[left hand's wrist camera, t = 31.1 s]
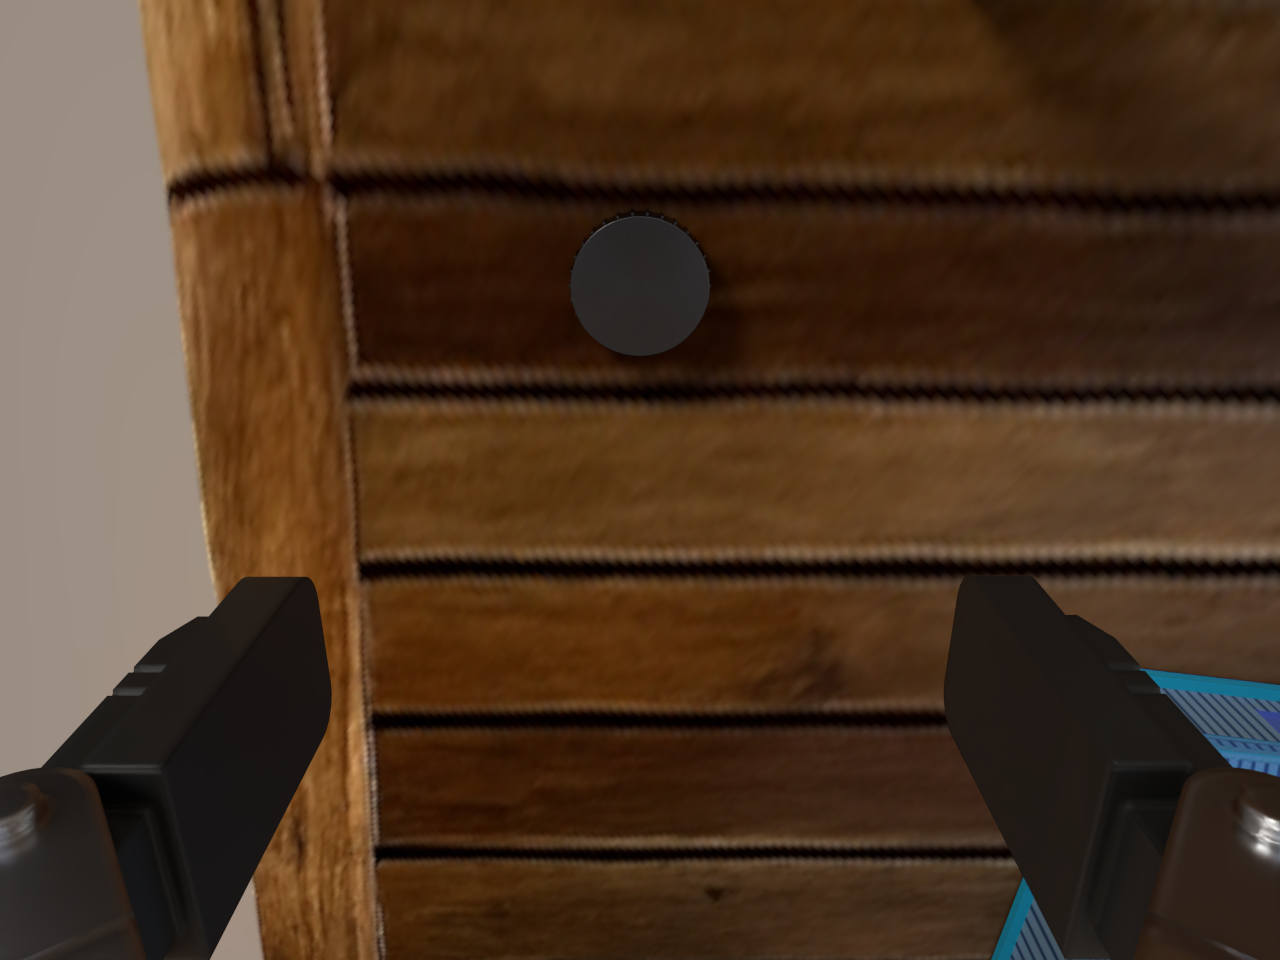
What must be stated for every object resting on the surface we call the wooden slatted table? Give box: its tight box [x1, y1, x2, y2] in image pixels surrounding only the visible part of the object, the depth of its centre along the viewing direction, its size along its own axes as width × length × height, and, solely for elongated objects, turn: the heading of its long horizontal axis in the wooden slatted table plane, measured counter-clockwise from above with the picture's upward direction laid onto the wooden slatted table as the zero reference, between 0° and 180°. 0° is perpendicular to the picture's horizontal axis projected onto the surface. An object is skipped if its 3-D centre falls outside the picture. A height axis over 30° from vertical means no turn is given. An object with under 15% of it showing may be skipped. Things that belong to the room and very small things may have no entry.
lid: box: [569, 209, 711, 356], centre depth 35 cm, size 6×6×2 cm
